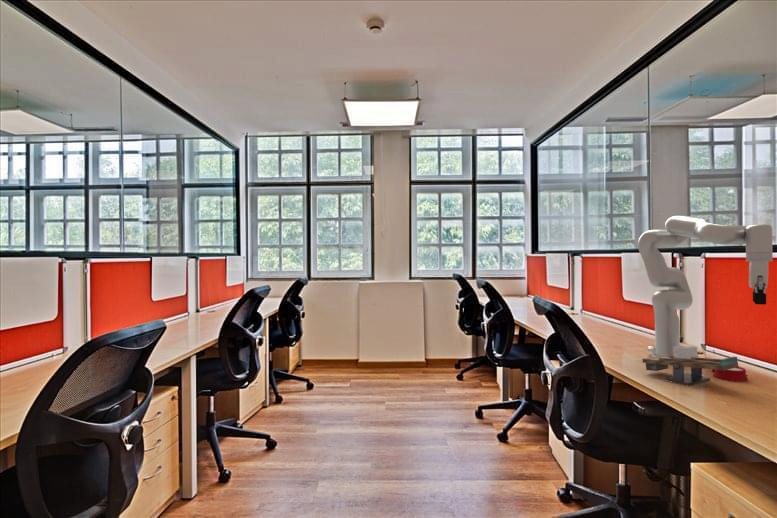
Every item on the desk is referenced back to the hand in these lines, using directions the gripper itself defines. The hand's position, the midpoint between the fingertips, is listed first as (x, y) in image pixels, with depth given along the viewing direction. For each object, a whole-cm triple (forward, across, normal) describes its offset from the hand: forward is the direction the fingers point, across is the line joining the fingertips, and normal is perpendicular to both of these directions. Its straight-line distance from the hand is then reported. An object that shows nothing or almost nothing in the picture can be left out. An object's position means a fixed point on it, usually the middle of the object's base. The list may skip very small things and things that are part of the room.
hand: (759, 303), depth 158 cm
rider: (+22, +16, -22) cm, 34 cm away
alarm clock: (+30, 0, -9) cm, 31 cm away
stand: (+29, +16, -21) cm, 39 cm away
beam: (+26, +16, -21) cm, 37 cm away
